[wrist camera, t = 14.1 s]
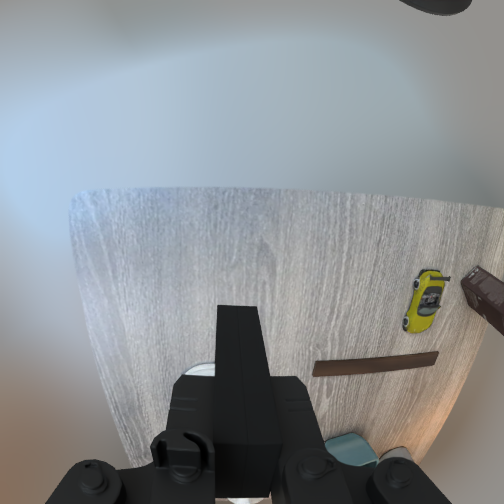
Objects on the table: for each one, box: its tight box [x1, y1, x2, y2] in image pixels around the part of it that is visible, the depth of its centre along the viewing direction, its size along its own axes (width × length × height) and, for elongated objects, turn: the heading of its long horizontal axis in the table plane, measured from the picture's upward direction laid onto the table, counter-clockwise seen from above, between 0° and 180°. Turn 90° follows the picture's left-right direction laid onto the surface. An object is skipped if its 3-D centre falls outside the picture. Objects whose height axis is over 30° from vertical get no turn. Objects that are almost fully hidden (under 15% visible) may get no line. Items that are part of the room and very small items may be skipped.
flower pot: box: [325, 433, 379, 468], centre depth 45 cm, size 9×9×9 cm
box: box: [461, 266, 504, 336], centre depth 36 cm, size 6×4×12 cm
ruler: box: [312, 351, 439, 377], centre depth 44 cm, size 3×22×1 cm, turn 85°
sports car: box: [403, 270, 451, 333], centre depth 40 cm, size 5×10×3 cm, turn 174°
